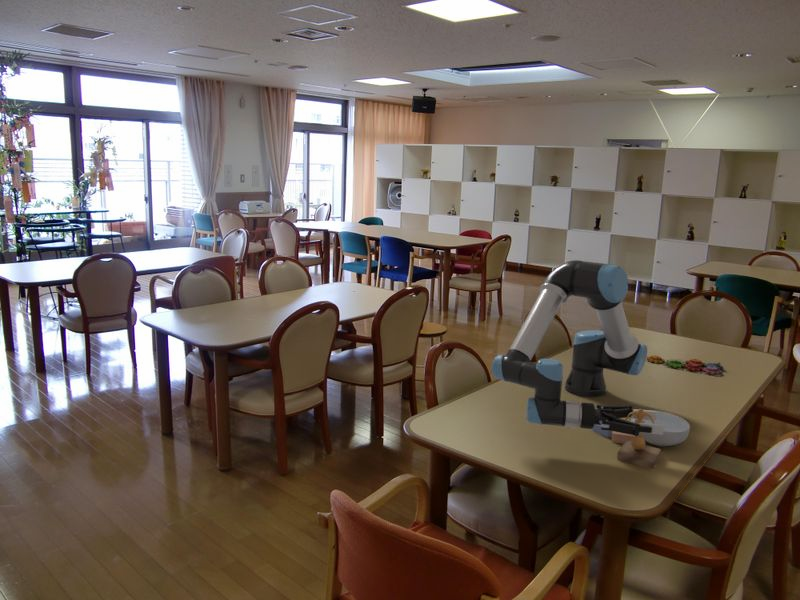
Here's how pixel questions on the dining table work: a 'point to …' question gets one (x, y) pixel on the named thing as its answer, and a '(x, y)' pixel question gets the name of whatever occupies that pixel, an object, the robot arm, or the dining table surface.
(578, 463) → the dining table surface
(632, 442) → the figurine
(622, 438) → the terracotta brick
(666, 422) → the cereal bowl
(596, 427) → the slate-blue brick
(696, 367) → the gear puzzle
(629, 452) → the walnut plinth
